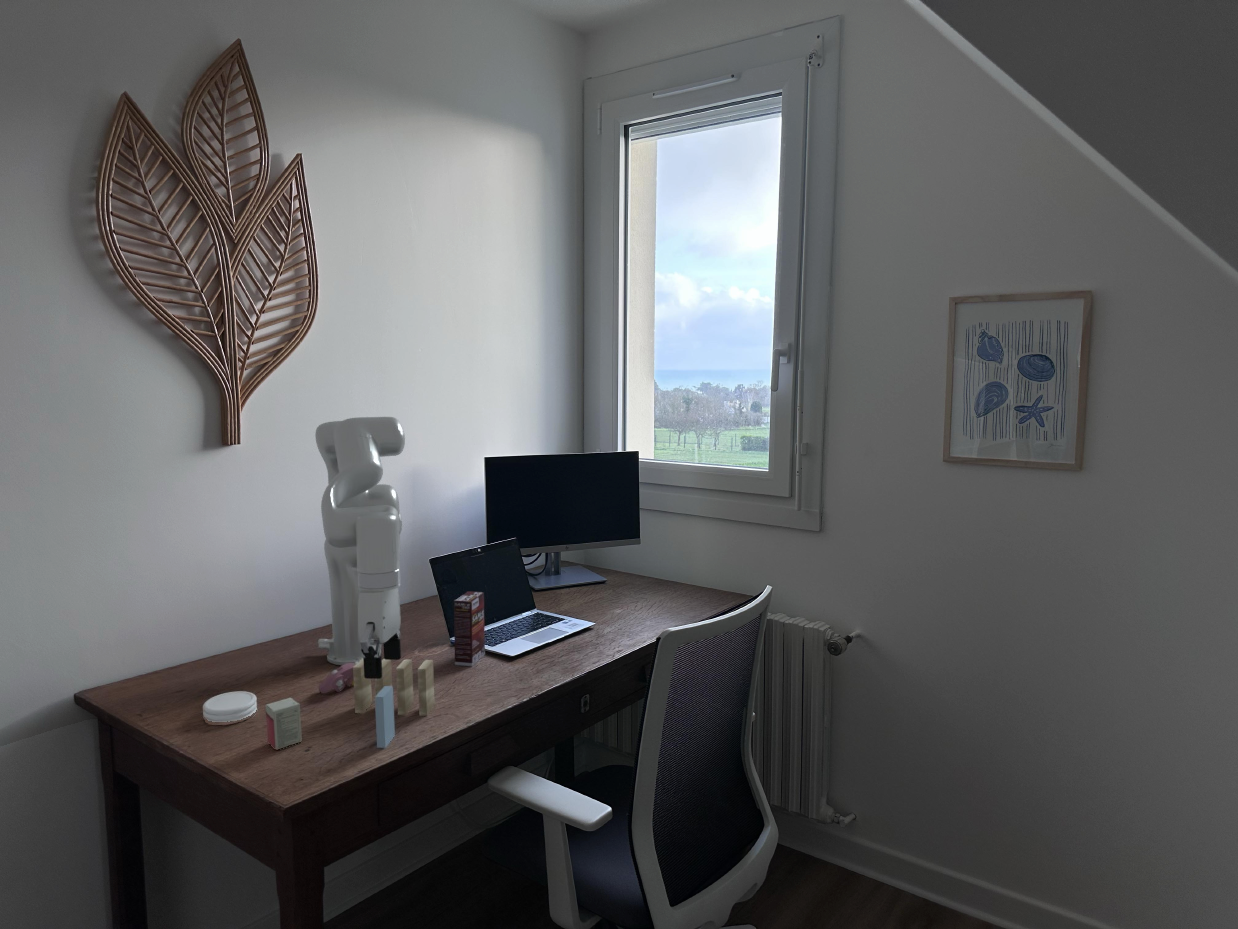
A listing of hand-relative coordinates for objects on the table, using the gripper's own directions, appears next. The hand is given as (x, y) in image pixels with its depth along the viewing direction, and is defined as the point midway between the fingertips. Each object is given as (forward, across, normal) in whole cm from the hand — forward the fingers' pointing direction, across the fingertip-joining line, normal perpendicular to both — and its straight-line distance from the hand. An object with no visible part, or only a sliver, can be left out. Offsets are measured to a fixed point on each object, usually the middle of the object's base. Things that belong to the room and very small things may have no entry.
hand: (383, 668), depth 151 cm
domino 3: (+14, -15, -1) cm, 21 cm away
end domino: (+15, -1, 0) cm, 15 cm away
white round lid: (+15, -10, -36) cm, 40 cm away
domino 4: (+14, -15, +3) cm, 21 cm away
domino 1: (+14, -15, -10) cm, 23 cm away
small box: (+15, +1, -19) cm, 24 cm away
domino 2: (+14, -15, -6) cm, 21 cm away
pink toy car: (+14, -25, -19) cm, 34 cm away
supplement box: (+14, -44, +5) cm, 46 cm away
